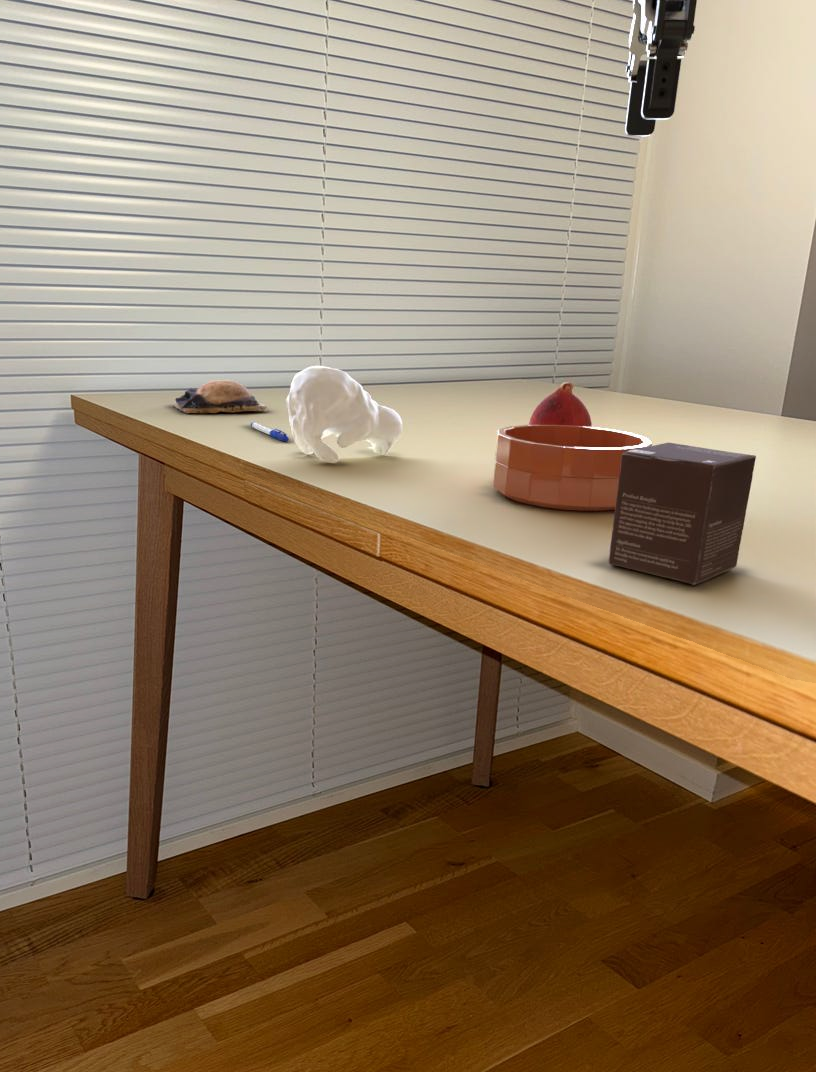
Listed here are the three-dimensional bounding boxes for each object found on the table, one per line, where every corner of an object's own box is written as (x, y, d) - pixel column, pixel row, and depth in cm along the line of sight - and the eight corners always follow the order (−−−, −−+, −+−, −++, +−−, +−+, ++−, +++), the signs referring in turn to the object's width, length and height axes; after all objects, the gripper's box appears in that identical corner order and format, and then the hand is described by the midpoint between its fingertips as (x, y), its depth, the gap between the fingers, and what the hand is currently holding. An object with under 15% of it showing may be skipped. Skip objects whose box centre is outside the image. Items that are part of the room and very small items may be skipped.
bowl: (630, 486, 86) (638, 429, 84) (652, 518, 74) (663, 453, 72) (491, 477, 87) (497, 421, 85) (493, 507, 76) (499, 443, 74)
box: (738, 570, 61) (760, 455, 59) (694, 588, 58) (715, 466, 55) (651, 549, 66) (668, 441, 63) (604, 565, 62) (620, 450, 59)
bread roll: (250, 404, 128) (250, 376, 126) (269, 413, 120) (269, 383, 119) (171, 405, 124) (170, 375, 123) (185, 414, 117) (184, 383, 115)
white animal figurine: (283, 360, 91) (389, 371, 97) (274, 451, 94) (378, 456, 99) (314, 367, 86) (424, 378, 92) (304, 463, 88) (412, 467, 94)
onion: (555, 475, 89) (565, 386, 86) (511, 464, 93) (520, 379, 90) (598, 470, 92) (610, 384, 89) (554, 460, 96) (564, 377, 93)
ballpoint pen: (291, 442, 101) (291, 433, 101) (283, 443, 101) (283, 433, 100) (254, 427, 110) (254, 418, 110) (247, 427, 110) (247, 418, 109)
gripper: (764, -179, 60) (719, 114, 66) (714, -97, 74) (680, 141, 79) (641, -176, 61) (607, 112, 67) (613, -95, 74) (587, 139, 80)
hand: (647, 127), depth 73 cm, fingers open, 8 cm apart
